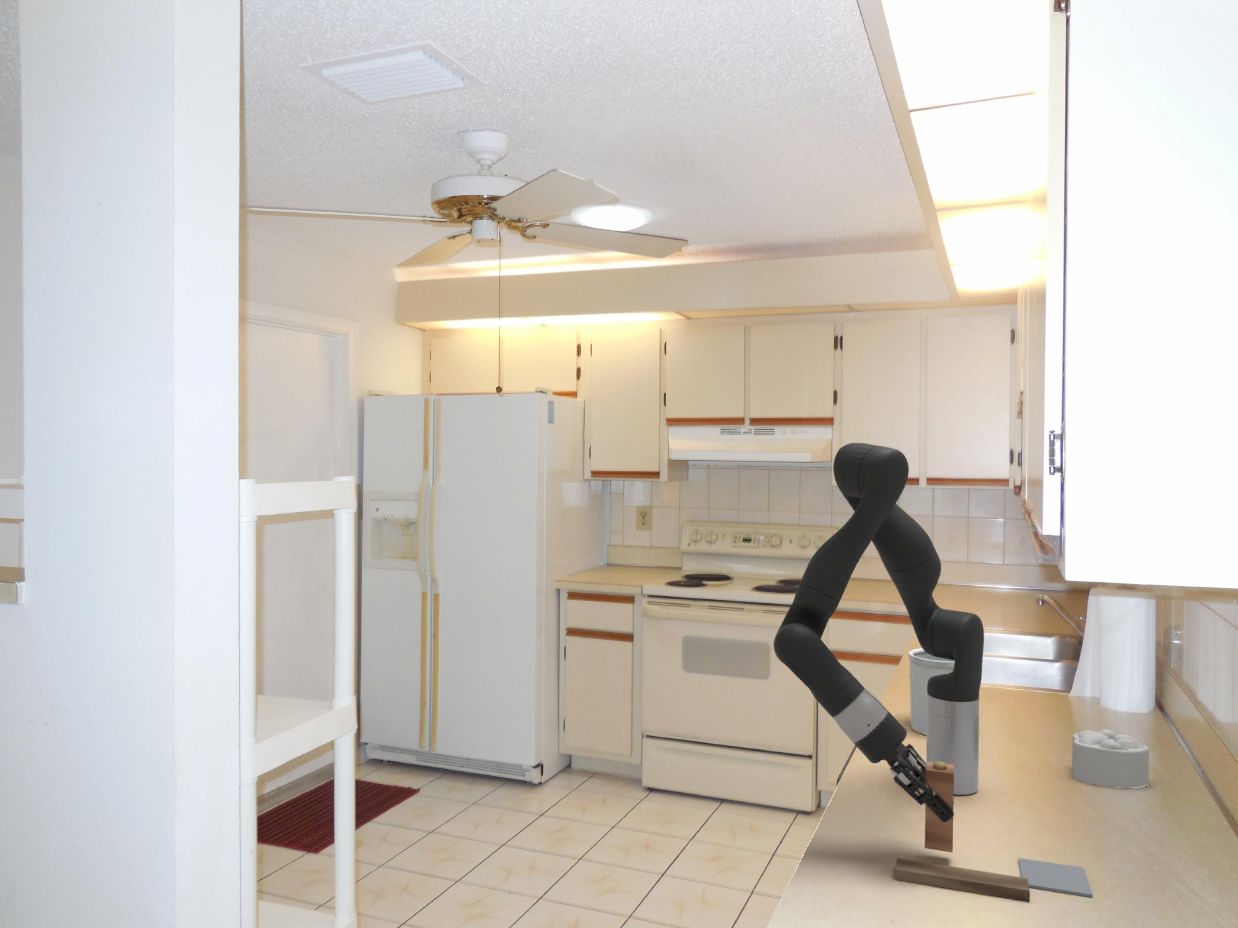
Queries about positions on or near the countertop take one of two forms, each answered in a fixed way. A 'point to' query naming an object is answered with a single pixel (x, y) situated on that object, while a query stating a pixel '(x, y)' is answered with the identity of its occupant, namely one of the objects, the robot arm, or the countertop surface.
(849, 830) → the countertop surface
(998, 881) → the walnut board
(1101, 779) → the lumpy-topped squat cylinder
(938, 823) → the post
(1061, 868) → the slate mat
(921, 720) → the utensil holder
